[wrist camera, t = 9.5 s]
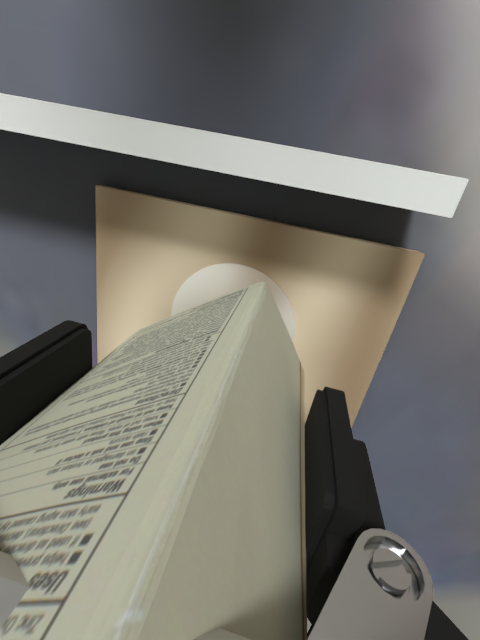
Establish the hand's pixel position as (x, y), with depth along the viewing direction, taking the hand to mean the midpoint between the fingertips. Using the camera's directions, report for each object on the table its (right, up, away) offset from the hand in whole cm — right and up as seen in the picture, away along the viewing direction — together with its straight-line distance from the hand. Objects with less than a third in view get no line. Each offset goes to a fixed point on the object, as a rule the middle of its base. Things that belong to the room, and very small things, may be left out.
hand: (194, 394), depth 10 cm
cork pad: (+1, +2, +6) cm, 6 cm away
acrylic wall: (-2, +10, +3) cm, 10 cm away
